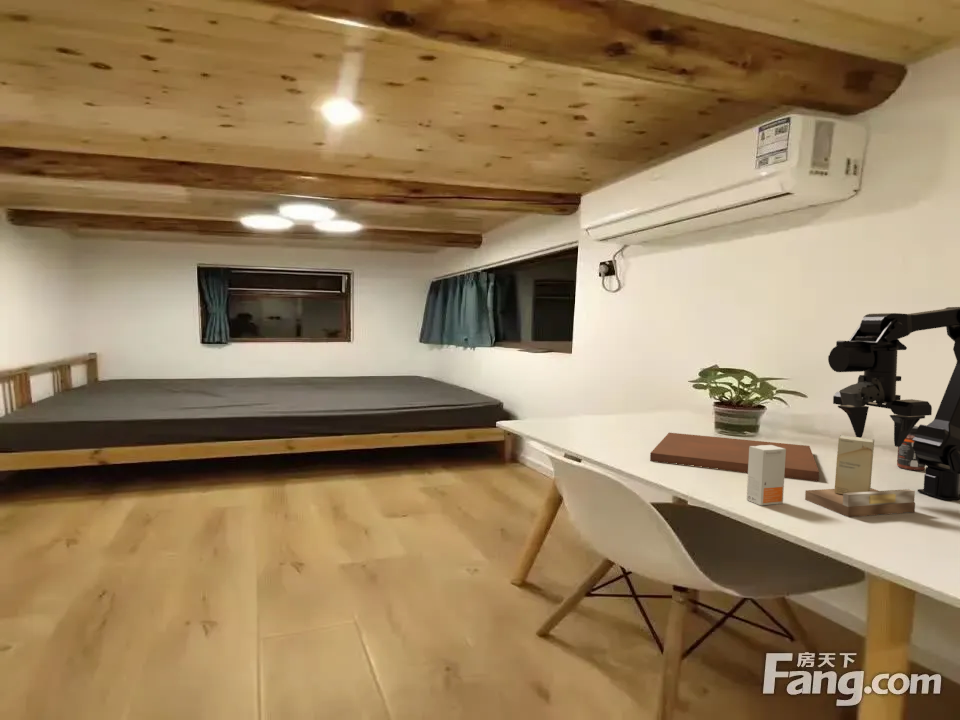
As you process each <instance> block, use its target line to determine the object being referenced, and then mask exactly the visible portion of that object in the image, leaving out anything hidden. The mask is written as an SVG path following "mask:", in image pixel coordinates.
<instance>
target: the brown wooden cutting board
mask: <svg viewBox="0 0 960 720" xmlns="http://www.w3.org/2000/svg"><path fill="white" fill-rule="evenodd" d="M759 445H774V446H777V447H781V448H784V449H786V457H785V474H784V478H785V479H786V478H789V479H794V480H795V479H796V480H804V481H813V482H819V481H820V471H819V468H818V465H817V462H816V460H815V456H814V454H813V452H812V449H811V447H810V445H802V444H794V443H782V442H772V441H761V440H751V439H741V438H728V437H718V436H708V435H699V434H691V433H690V434H688V433H687V434H686V433H679V432H668V433H667V434H666V435H665V436H664V438H662V440H661V441H660V442H659V443H658V444H656V446H655V447H654V448H653V449H652V450H651V452H650V457H649V462H654V461H658V462H657V463H662V462H668V463H667V464H670V463H677V464H676V465H679V464H684V465H683V466H687V465H694V466H693V467H695V466H702V467H701V468H703V467H709V468H708V469H712V468H718V469H717V470H720V469H725V470H724V471H728V470H732V471H731V472H737V471H739V472H740V473H745V472H746V473H745V474H748V462H749V447H750V446H759Z"/></svg>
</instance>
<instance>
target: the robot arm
mask: <svg viewBox="0 0 960 720" xmlns="http://www.w3.org/2000/svg"><path fill="white" fill-rule="evenodd" d="M939 328H946V333H947V334H946V335H947V336H948V337H949V338H950V339H951V340H952V341H953V342H954V344H953V349H952V351H953V353H954V356H955V359H956V363H955V366H954V369H953V371H952V374H951V376H950V379H949V382H948V384H947V387H946V389H945V391H944V393H943V396H942V399H941V401H940V404H939V406H938V409H937V411H936V414H935V416H934V419H933V420H932V421H931V422H929V423H928V424H927V425H925V424H919V425H918V426H917V427H918V429H917V433H916V435H915V437H914V438H913V439H912V441H914V443H913V450H914V451H915V455H916V459H917V462H918V464H920V465H925V474H924V476H923V477H924V478H923V488H919V489H917V492H918V493H921V494H925V495H927V496H929V497H930V496H931V497H934V498H937V499H940V500H944V501H953V500H960V306H951V307H950V306H948V307H945V308H941V309H933V310H927V311H926V310H925V311H919V312H913V313H900V312H899V313H896V312H894V313H893V312H892V313H890V312H888V313H887V312H885V313H884V312H883V313H867V314H866V315H864V316H863V318H862V320H861V322H860V323H859V325H858V326H857V328H856V329H855V331H854V332H853V333H852V335H851V337H849V340H836V342H835V343H836V346H834V347H833V348H831V350H830V352H829V355H828V356H827V359H828V365H829V367H830V369H831V370H832V371H834V372H836V373H859V372H861V373H862V372H863V374H859V376H858V378H857V382H856V383H853V384H851V385H848V386H846V387H844V388H842V389H840V390H838V391H836V392H835V393H834V394H833V397H832V403H833V404H834V405H837V408H838V409H841V410H842V411H843V412H844V413H846V414H847V417H848V419H849V422H850V424H851V426H852V430H853V432H854V435H855V437H859V438H863V434H864V431H865V427H866V421H867V417H868V412H869V408H870V407H876V408H882V409H883V408H884V409H889V410H890V411H891V412H892V413H893V414H890V415H889V417H890V418H891V420H892V422H893V426H894V427H893V441H894V442H893V443H894V447H897V448H898V447H900V446H901V445H902V443H903V442H904V440H905V439H906V437H907V436H908V434H909V433H910V431H911V430H912V428H913V427H914V426H916V424H918V422H919V421H920V420H922V419H926V416H932V414H933V413H932V412H933V408H932V406H933V405H931V404H930V402H929V401H926V400H919V399H912V398H911V399H901V395H900V394H897V382H902V376H901V375H897V374H898V372H897V370H898V351H906V350H907V349H908V348H907V347H908V346H906V345H905V344H904V343H902V342H901V341H900V339H903V338H905V337H908V336H910V334H912V333H914V332H918V331H925V330H926V331H927V330H932V329H933V330H934V329H939Z"/></svg>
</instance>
